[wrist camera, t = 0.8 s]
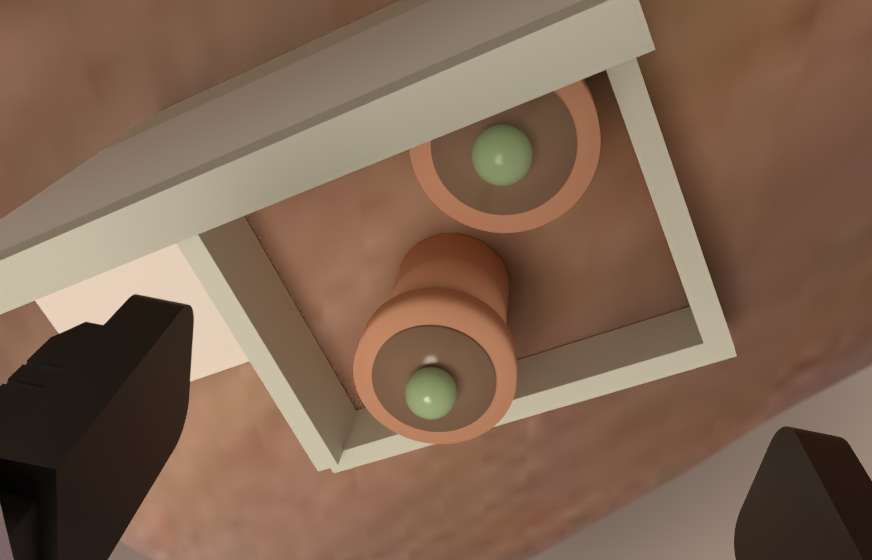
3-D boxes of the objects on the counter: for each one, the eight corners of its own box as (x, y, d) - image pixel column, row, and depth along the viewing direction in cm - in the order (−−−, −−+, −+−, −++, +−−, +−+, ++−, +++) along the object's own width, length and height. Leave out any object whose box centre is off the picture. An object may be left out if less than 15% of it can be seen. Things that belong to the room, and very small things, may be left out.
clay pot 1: (556, -21, 30) (561, 27, 22) (610, 126, 32) (632, 219, 24) (410, 44, 31) (365, 111, 23) (471, 179, 33) (448, 282, 25)
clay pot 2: (489, 202, 34) (473, 311, 26) (541, 318, 36) (540, 451, 28) (363, 249, 35) (312, 364, 27) (420, 357, 38) (387, 493, 30)
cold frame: (583, -88, 28) (634, -12, 13) (722, 317, 35) (869, 699, 19) (157, 109, 34) (-183, 338, 18) (347, 432, 40) (221, 808, 24)
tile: (164, 203, 35) (158, 209, 35) (256, 353, 38) (252, 360, 38) (20, 264, 38) (13, 270, 37) (118, 400, 41) (112, 408, 40)
